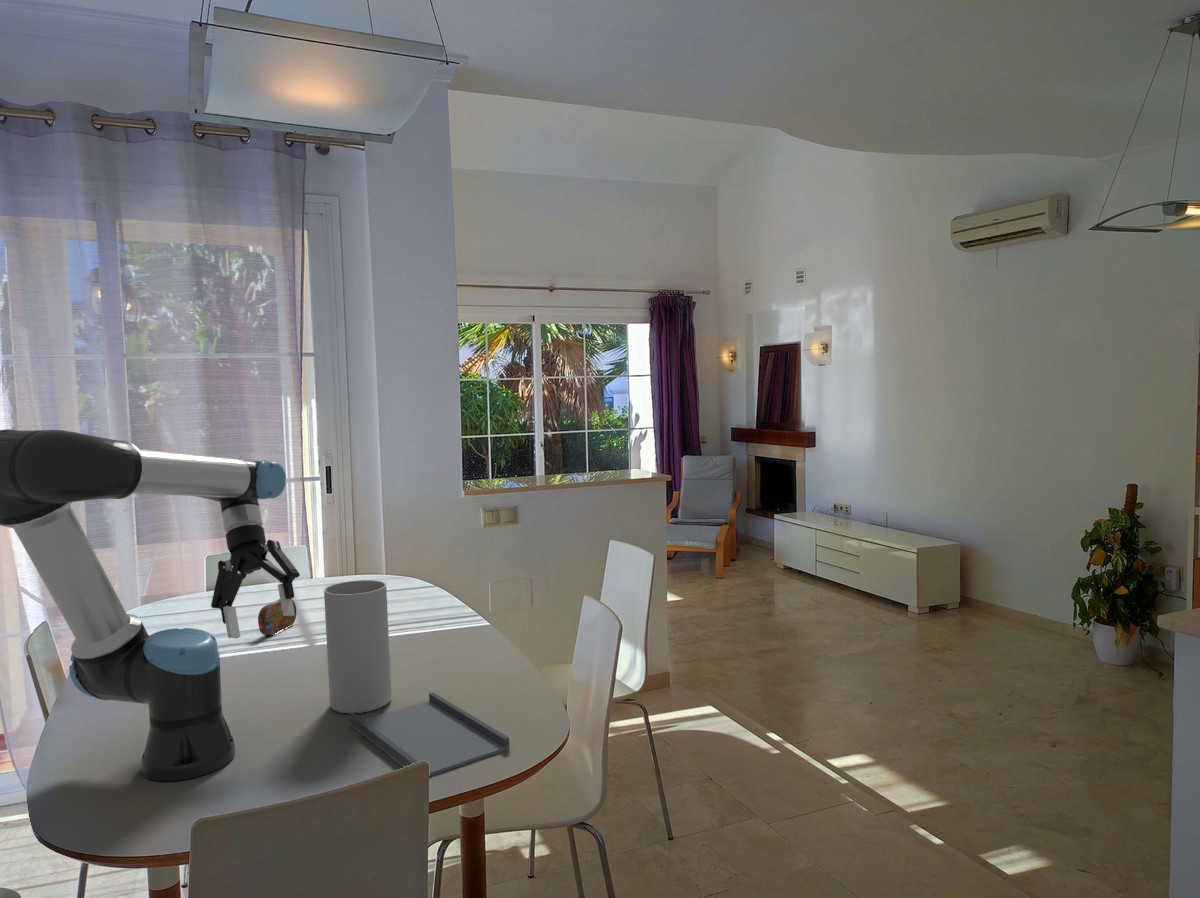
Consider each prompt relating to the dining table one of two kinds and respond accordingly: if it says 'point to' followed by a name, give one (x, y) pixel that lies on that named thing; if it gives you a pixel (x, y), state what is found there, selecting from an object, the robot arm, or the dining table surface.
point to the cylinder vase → (357, 646)
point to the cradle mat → (432, 735)
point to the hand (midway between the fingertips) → (261, 626)
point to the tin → (274, 618)
